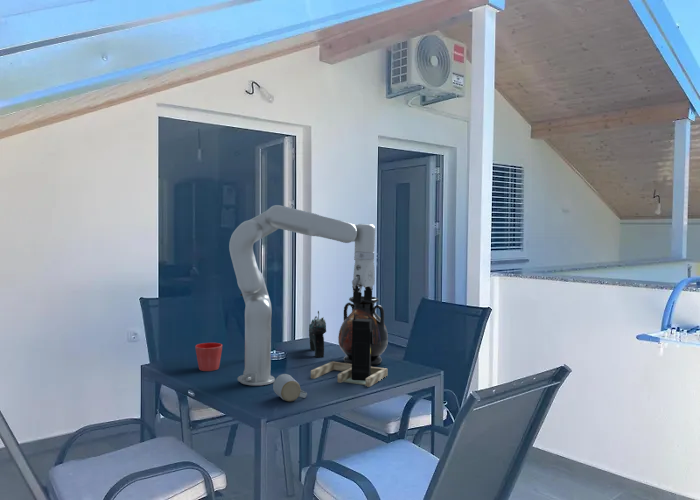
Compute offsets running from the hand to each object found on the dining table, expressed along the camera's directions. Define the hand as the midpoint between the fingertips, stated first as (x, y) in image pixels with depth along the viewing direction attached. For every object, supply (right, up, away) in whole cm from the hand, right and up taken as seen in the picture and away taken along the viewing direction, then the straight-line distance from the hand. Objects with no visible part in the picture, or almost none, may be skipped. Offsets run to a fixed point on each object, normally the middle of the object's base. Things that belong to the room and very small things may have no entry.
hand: (362, 301), depth 216 cm
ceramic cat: (-20, -28, +45) cm, 57 cm away
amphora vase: (+1, -29, +30) cm, 42 cm away
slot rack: (-5, -30, +4) cm, 30 cm away
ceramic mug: (-25, -31, -24) cm, 46 cm away
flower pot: (-62, -29, +13) cm, 69 cm away
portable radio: (0, -30, +2) cm, 30 cm away
